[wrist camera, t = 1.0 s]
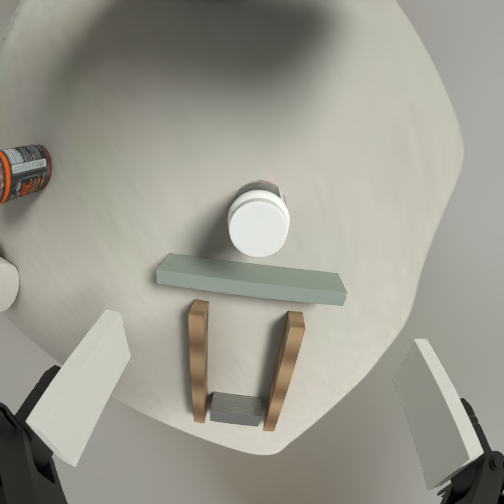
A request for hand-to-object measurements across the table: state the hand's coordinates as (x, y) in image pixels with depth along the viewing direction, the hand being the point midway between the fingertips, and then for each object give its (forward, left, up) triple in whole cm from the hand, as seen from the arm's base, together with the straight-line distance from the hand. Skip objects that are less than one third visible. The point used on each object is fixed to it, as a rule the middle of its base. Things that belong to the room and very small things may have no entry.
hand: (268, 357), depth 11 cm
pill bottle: (-3, -1, -18) cm, 18 cm away
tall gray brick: (+26, -1, -18) cm, 32 cm away
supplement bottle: (-6, -29, -18) cm, 35 cm away
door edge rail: (+4, -1, -18) cm, 18 cm away
